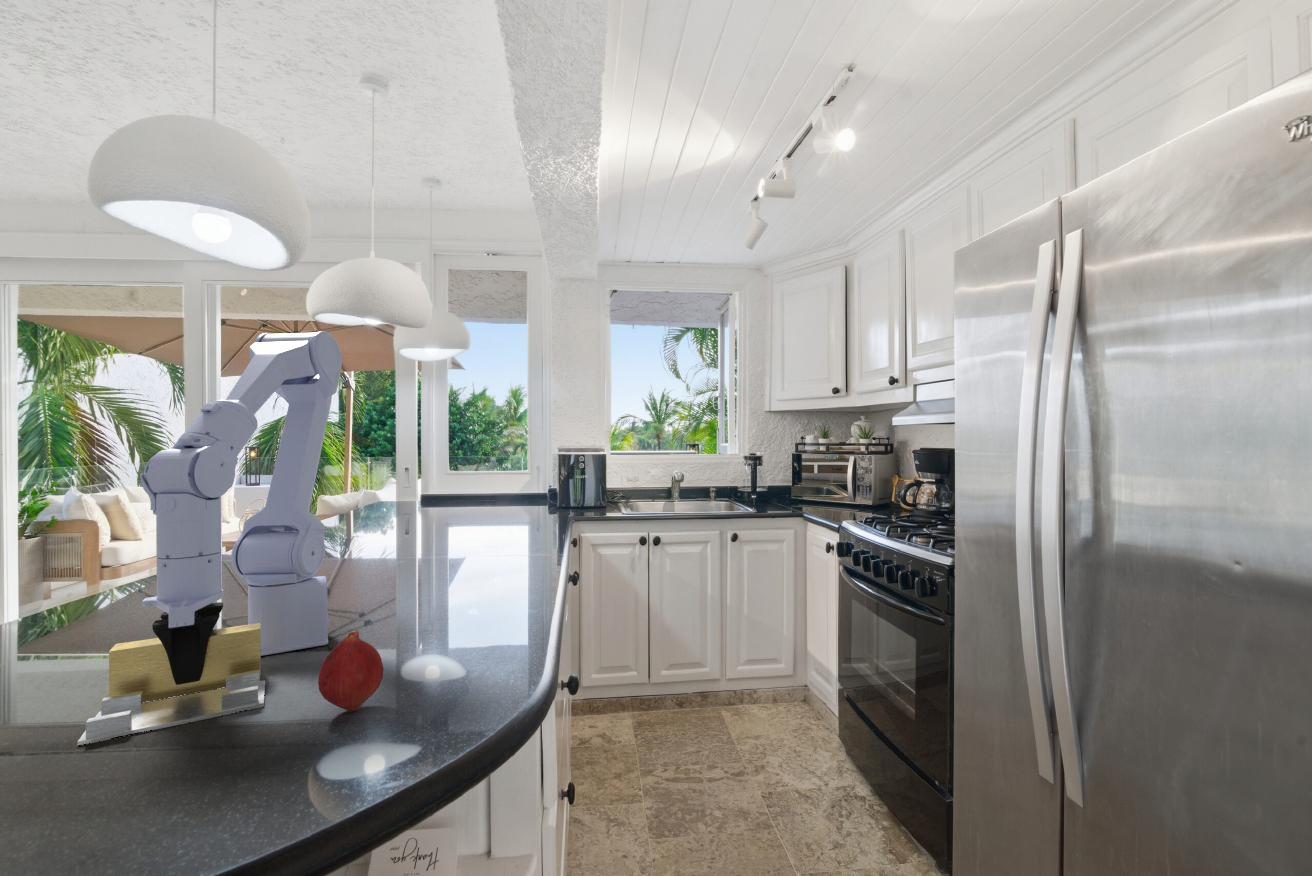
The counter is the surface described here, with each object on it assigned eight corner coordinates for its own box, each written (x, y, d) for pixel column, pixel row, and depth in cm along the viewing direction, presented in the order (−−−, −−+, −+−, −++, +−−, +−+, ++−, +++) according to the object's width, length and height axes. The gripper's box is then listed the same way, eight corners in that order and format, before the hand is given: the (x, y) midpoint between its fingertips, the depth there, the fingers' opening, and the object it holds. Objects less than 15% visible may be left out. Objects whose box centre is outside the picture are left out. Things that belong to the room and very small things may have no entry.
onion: (317, 729, 55) (316, 643, 56) (320, 706, 61) (319, 628, 61) (385, 715, 58) (384, 633, 58) (382, 694, 63) (381, 619, 63)
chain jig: (265, 683, 67) (265, 666, 67) (263, 706, 61) (263, 688, 61) (98, 715, 60) (98, 696, 60) (77, 746, 53) (77, 724, 53)
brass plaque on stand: (260, 673, 71) (260, 622, 71) (260, 681, 68) (259, 628, 68) (115, 700, 64) (115, 643, 64) (109, 710, 61) (109, 651, 61)
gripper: (154, 550, 70) (155, 665, 70) (128, 569, 58) (129, 709, 58) (228, 544, 74) (228, 653, 74) (218, 560, 62) (218, 691, 61)
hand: (190, 676), depth 66 cm, fingers closed on brass plaque on stand, 3 cm apart
